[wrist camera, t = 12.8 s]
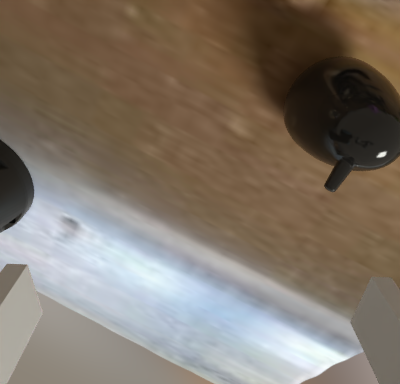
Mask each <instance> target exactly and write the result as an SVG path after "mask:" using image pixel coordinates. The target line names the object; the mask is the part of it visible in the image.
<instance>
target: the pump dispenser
mask: <svg viewBox="0 0 400 384" xmlns="http://www.w3.org/2000/svg"><path fill="white" fill-rule="evenodd" d="M284 122H285V126H286V128H287V131H288V133H289V134H290V136H291V137H292V139H293V140H294V141H295V142H296V143H297V144H298V145H299V146H300V147H301V148H302V149H303V150H304V151H306V152H307V153H308V154H310V155H311V156H313V157H314V158H316V159H318V160H320V161H322V162H324V163H326V164H329V165H332V166H334V168H333V170H332V172H331V173H330V175H329V177H328V179H327V181H326V183H325V185H324V187H325V188H326V189H327V190H328V191H330V192H335V191H336V190H337V189H338V187H339V186H340V185H341V183H342V182H343V181H344V180H345V178H346V177H347V176H348V175H349V173H350V172H351V171H352V170H353V171H371V170H376V169H380V168H383V167H385V166H387V165H389V164H391V163H392V162H394V161H395V160H396V159H397V158H398V157H399V156H400V96H399V94H398V92H397V91H396V89H395V88H394V86H393V85H392V84H391V83H390V81H389V80H388V79H387V78H386V77H385V76H384V75H382V74H381V73H380V72H379V71H378V70H376V69H375V68H374V67H372V66H371V65H369V64H368V63H366V62H364V61H361V60H359V59H356V58H352V57H332V58H328V59H325V60H322V61H320V62H318V63H316V64H314V65H312V66H311V67H309V68H308V69H307V70H305V71H304V72H303V73H302V74H301V75H300V76H299V77H298V78H297V80H296V81H295V82H294V84H293V85H292V87H291V88H290V90H289V92H288V95H287V97H286V100H285V105H284Z"/></svg>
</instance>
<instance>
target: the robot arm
mask: <svg viewBox="0 0 400 384" xmlns="http://www.w3.org/2000/svg"><path fill="white" fill-rule="evenodd" d="M33 198H34V186H33V182H32V178H31V176H30V173H29V171H28V170H27V168H26V166H25V165H24V163H23V162H22V161H21V159H20V158H19V157H18V156H17V155H16V154H15V153H14V152H13V151H12V150H11V149H10V148H9V147H8V146H6V145H5V144H4V143H2V142H1V141H0V232H2V231H4V230H6V229H8V228H10V227H12V226H13V225H15V224H16V223H17V222H18V221H19V220H20V219H21V218H22V217H23V216H24V215H25V213H26V212H27V211H28V210H29V208H30V207H31V205H32V202H33ZM42 314H43V310H42V307H41V304H40V301H39V298H38V295H37V292H36V289H35V286H34V283H33V280H32V277H31V274H30V271H29V268H28V265H22V264H7V265H6V266H5V267H4V269H3V270H2V271H1V273H0V384H7V383H8V381H9V379H10V377H11V375H12V373H13V371H14V369H15V367H16V365H17V363H18V361H19V359H20V357H21V355H22V353H23V351H24V349H25V347H26V345H27V343H28V341H29V339H30V338H31V336H32V334H33V332H34V330H35V328H36V326H37V324H38V322H39V320H40V318H41V316H42ZM350 323H351V325H352V327H353V329H354V331H355V333H356V335H357V337H358V340H359V342H360V344H361V346H362V348H363V350H364V352H365V354H366V356H367V359H368V361H369V363H370V365H371V367H372V369H373V371H374V374H375V375H376V378H377V380H378V382H379V384H400V289H399V288H398V286H397V285H396V284H395V282H394V281H393V279H392V278H390V277H371V279H370V282H369V284H368V286H367V288H366V290H365V292H364V294H363V296H362V299H361V301H360V303H359V305H358V307H357V309H356V311H355V314H354V316H353V318H352V320H351V322H350Z"/></svg>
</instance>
